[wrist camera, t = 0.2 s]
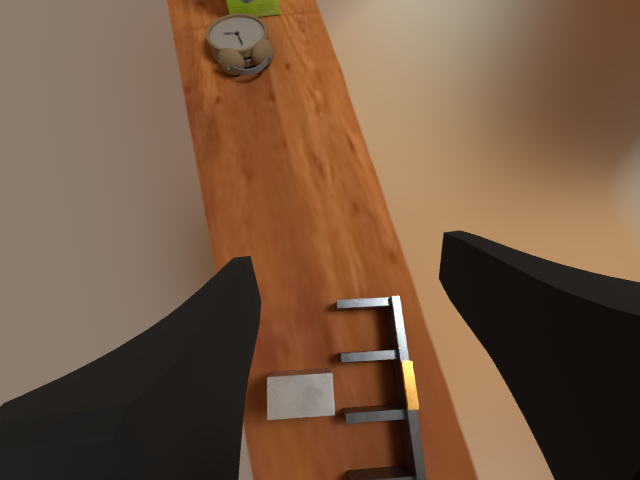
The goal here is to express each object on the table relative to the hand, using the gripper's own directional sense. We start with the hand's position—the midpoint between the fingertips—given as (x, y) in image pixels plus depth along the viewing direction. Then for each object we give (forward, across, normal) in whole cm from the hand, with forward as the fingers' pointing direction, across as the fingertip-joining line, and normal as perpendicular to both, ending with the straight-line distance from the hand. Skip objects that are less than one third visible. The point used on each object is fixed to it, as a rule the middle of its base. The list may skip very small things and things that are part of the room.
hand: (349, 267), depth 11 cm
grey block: (+16, +5, +28) cm, 32 cm away
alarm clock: (+58, +10, -13) cm, 60 cm away
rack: (+16, -4, +28) cm, 32 cm away
